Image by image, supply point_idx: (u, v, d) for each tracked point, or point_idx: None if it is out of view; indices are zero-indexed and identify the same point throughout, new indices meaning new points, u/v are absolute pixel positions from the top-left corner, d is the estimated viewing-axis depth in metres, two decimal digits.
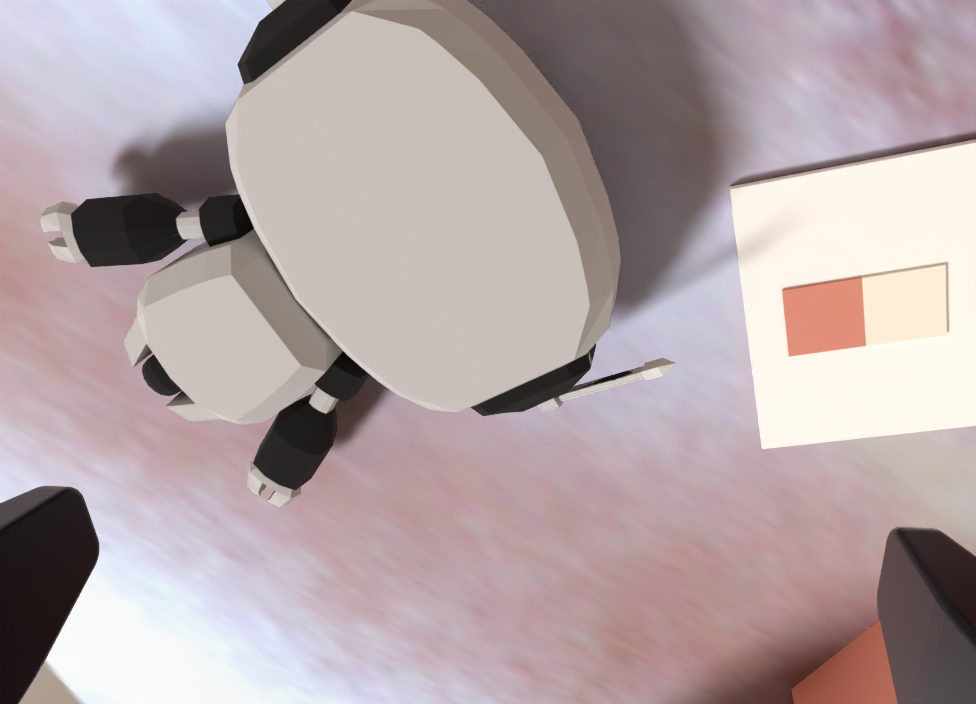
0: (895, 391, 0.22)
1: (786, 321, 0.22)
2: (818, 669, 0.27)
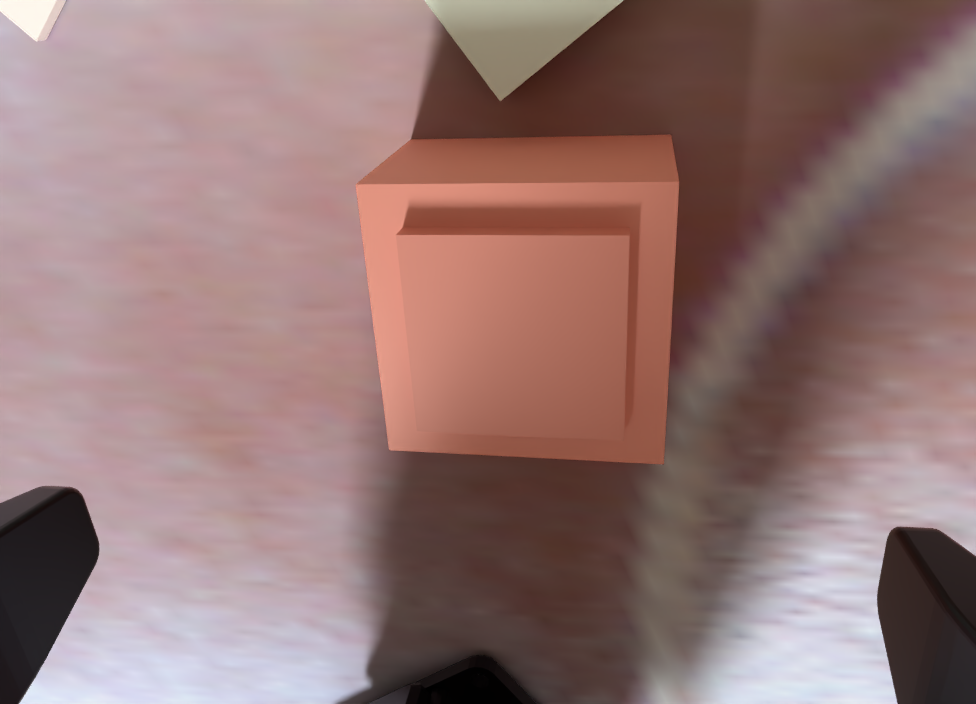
0: None
1: None
2: None
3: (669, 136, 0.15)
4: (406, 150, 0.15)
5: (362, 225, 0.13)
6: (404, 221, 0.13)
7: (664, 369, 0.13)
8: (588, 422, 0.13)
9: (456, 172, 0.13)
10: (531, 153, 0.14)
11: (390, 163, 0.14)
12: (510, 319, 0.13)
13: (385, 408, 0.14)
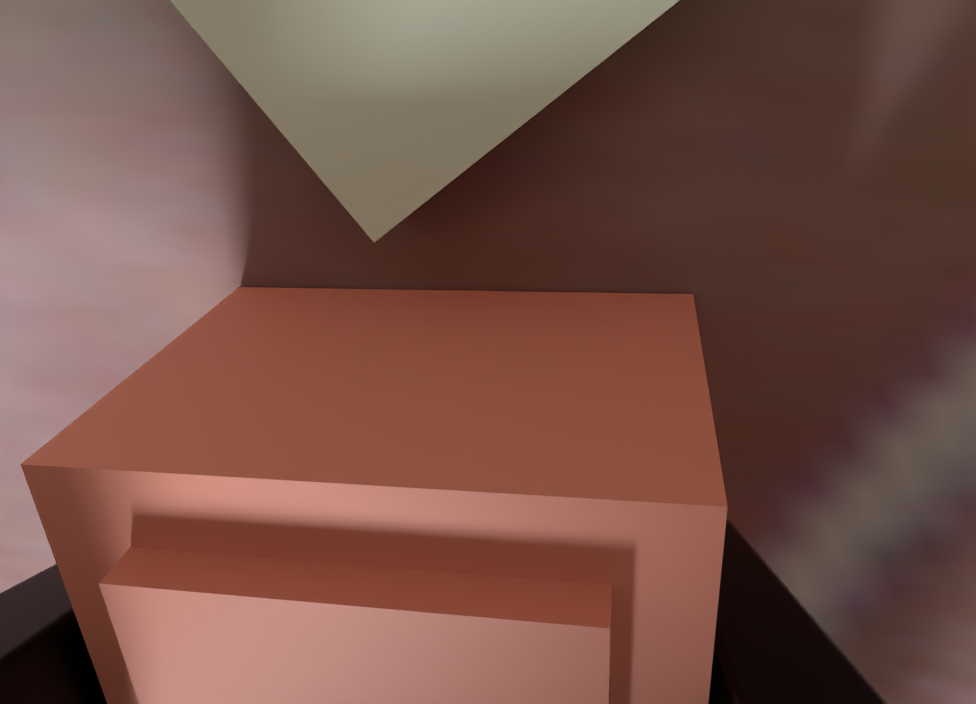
0: None
1: None
2: None
3: (691, 305, 0.08)
4: (205, 328, 0.08)
5: (50, 537, 0.06)
6: (133, 536, 0.06)
7: None
8: None
9: (253, 420, 0.06)
10: (427, 350, 0.07)
11: (147, 375, 0.07)
12: None
13: None
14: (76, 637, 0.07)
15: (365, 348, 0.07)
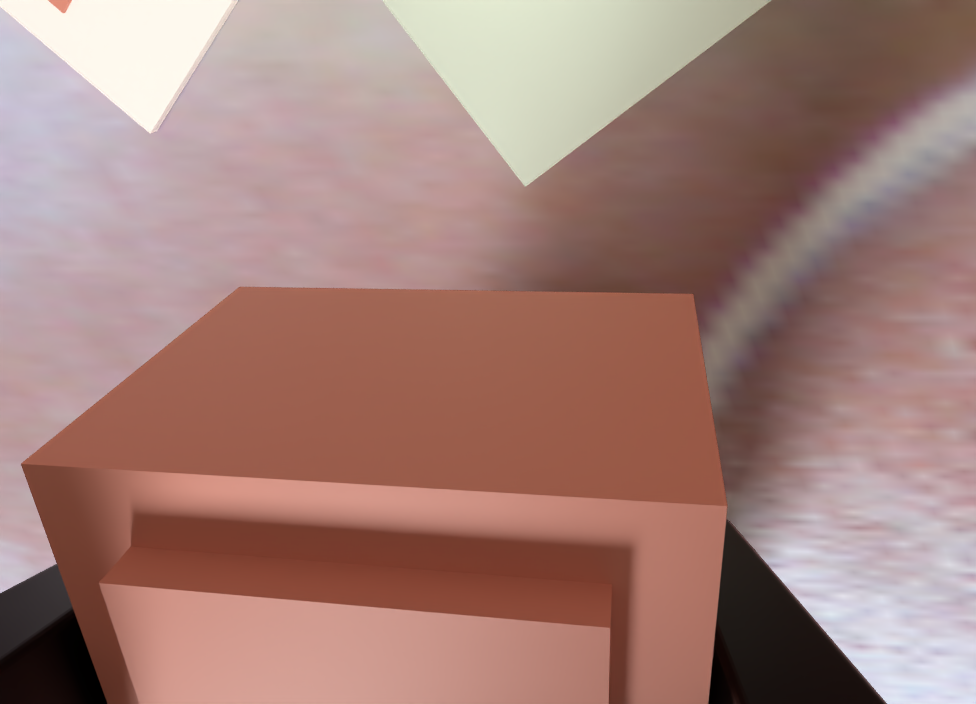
0: None
1: None
2: None
3: (691, 305, 0.08)
4: (205, 328, 0.08)
5: (51, 537, 0.06)
6: (133, 536, 0.06)
7: None
8: None
9: (253, 420, 0.06)
10: (427, 350, 0.07)
11: (148, 375, 0.07)
12: None
13: None
14: (76, 637, 0.07)
15: (365, 348, 0.07)
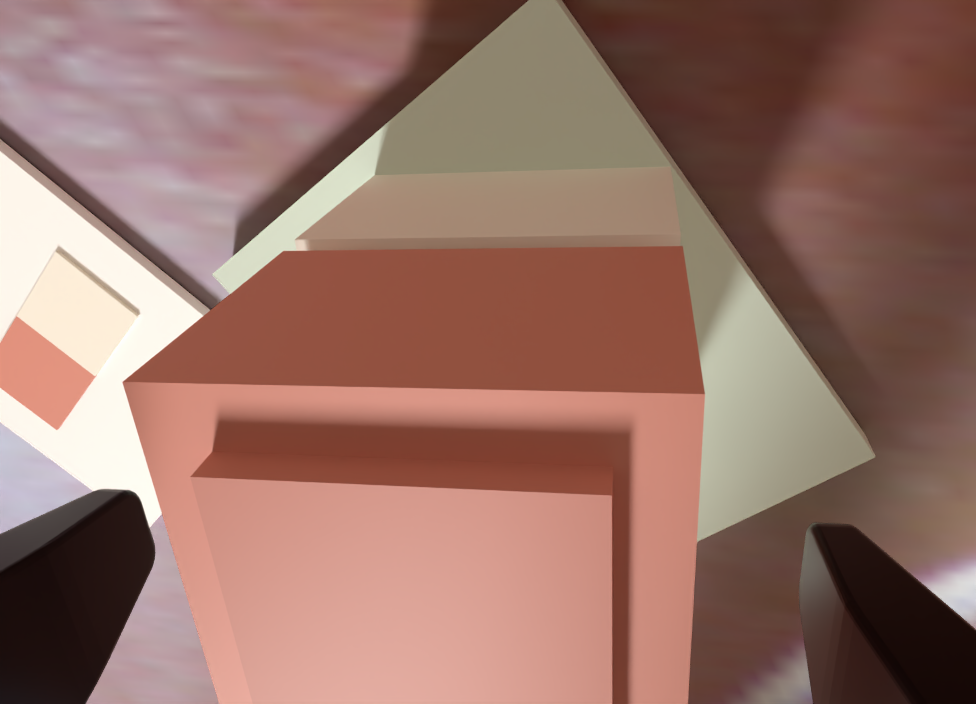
0: None
1: (21, 398, 0.18)
2: None
3: (681, 254, 0.09)
4: (258, 282, 0.09)
5: (144, 446, 0.07)
6: (214, 441, 0.07)
7: (681, 686, 0.07)
8: None
9: (310, 346, 0.07)
10: (453, 294, 0.08)
11: (215, 318, 0.08)
12: (404, 614, 0.07)
13: None
14: None
15: (399, 293, 0.09)
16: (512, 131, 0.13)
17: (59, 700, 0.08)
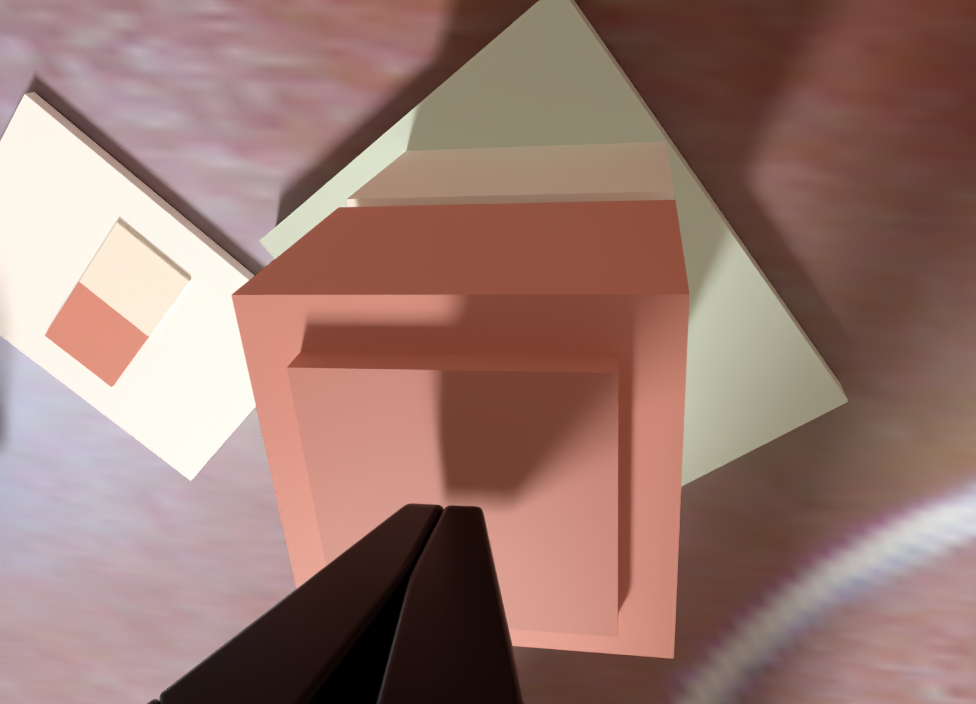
0: (218, 358, 0.19)
1: (80, 358, 0.20)
2: None
3: (673, 205, 0.11)
4: (323, 229, 0.11)
5: (245, 348, 0.09)
6: (302, 343, 0.09)
7: (672, 541, 0.09)
8: (567, 612, 0.10)
9: (377, 271, 0.09)
10: (487, 235, 0.10)
11: (294, 253, 0.10)
12: (453, 480, 0.09)
13: (296, 579, 0.11)
14: (358, 661, 0.06)
15: (442, 235, 0.10)
16: (528, 111, 0.15)
17: None
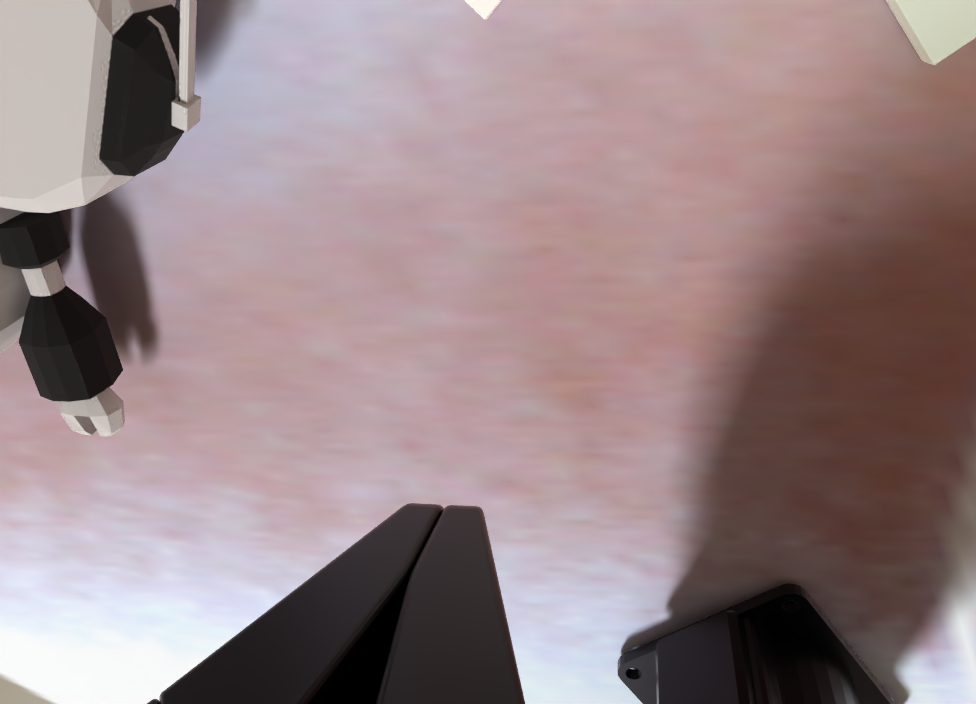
0: None
1: None
2: None
3: None
4: None
5: None
6: None
7: None
8: None
9: None
10: None
11: None
12: None
13: None
14: (358, 662, 0.06)
15: None
16: None
17: None
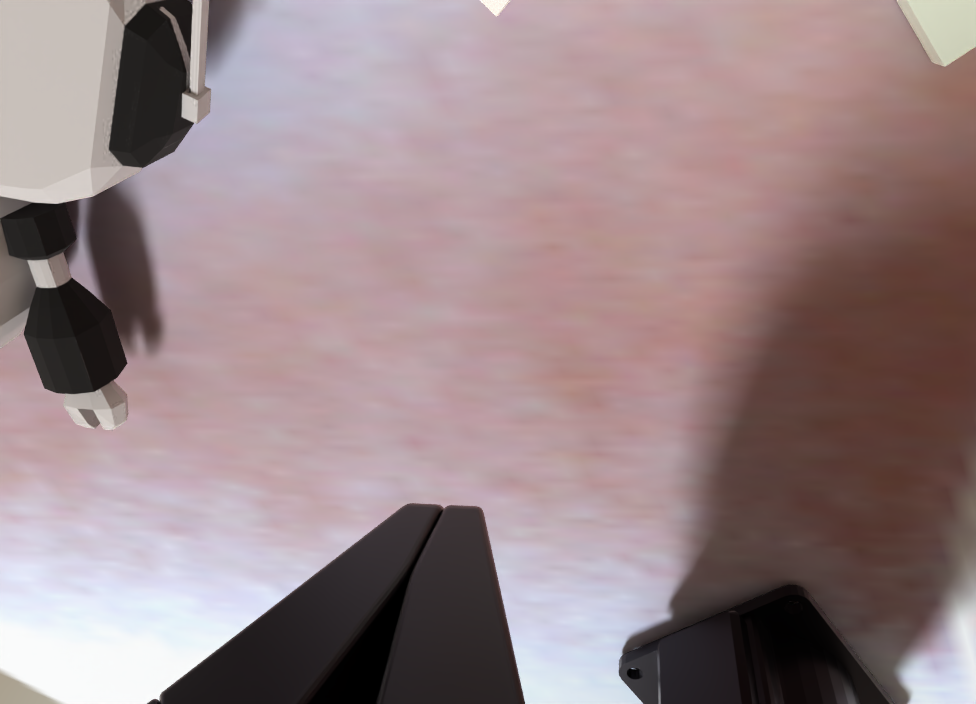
0: None
1: None
2: None
3: None
4: None
5: None
6: None
7: None
8: None
9: None
10: None
11: None
12: None
13: None
14: (359, 662, 0.06)
15: None
16: None
17: None
